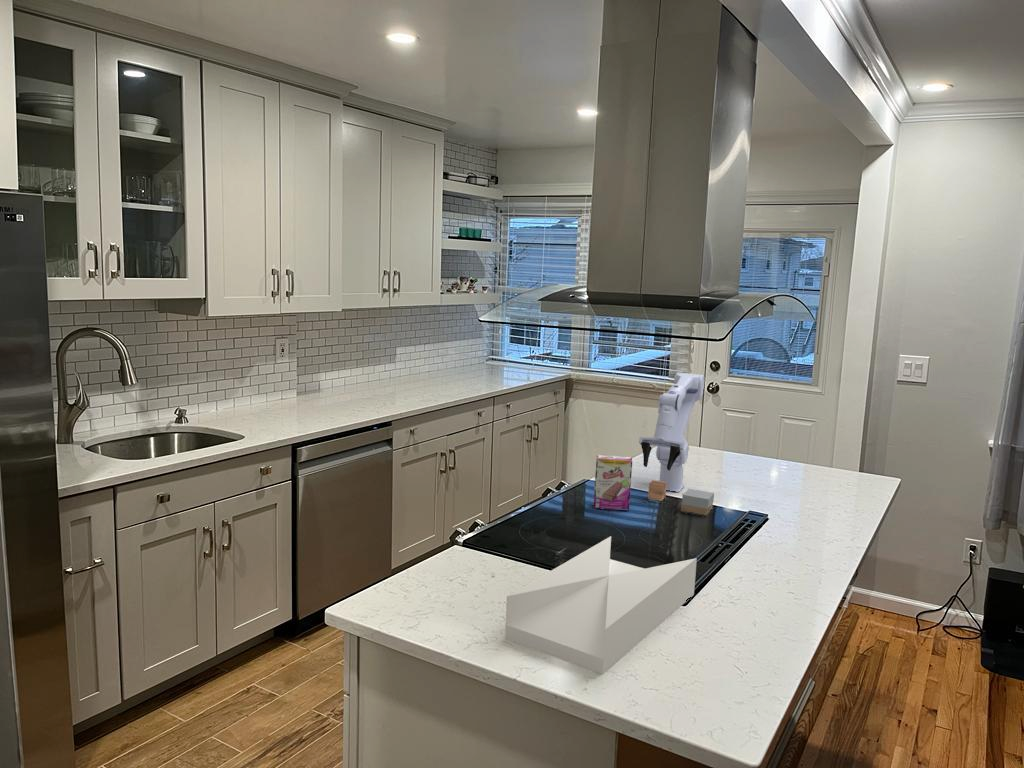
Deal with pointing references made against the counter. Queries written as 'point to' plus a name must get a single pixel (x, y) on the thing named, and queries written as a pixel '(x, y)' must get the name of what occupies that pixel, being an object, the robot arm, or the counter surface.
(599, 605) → the white zigzag wedge
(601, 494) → the candy bar box
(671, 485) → the robot arm
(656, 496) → the terracotta block
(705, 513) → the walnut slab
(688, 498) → the slate slab
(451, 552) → the counter surface
